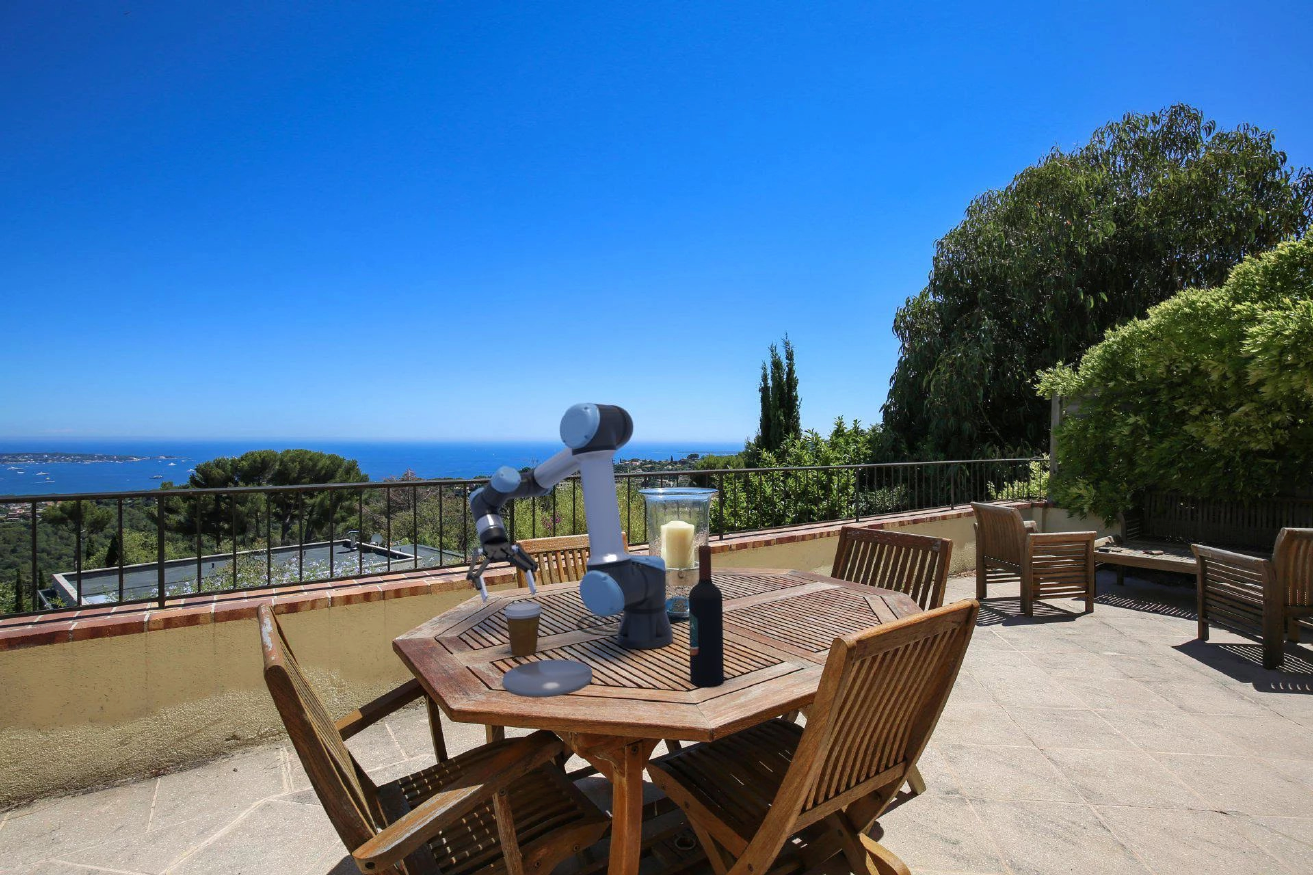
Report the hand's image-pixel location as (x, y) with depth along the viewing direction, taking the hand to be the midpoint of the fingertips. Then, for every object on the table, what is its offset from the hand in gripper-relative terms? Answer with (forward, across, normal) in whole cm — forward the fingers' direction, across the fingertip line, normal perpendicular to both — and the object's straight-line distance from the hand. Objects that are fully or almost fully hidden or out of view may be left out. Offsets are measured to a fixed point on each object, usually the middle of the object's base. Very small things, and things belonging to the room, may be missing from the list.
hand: (510, 595), depth 168 cm
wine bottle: (+46, -27, +27) cm, 60 cm away
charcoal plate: (+30, +2, +12) cm, 33 cm away
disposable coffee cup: (+16, 0, -3) cm, 16 cm away
